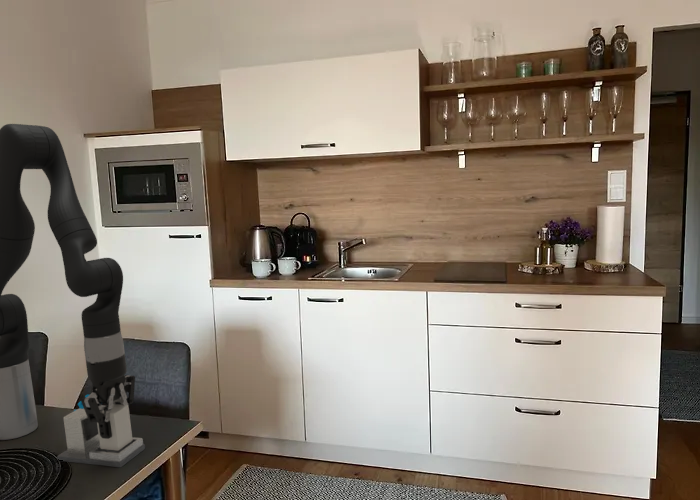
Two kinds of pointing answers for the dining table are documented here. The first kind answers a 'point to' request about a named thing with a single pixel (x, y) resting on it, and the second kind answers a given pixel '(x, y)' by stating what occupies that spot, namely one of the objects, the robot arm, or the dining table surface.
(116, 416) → the block
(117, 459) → the base with upright block
